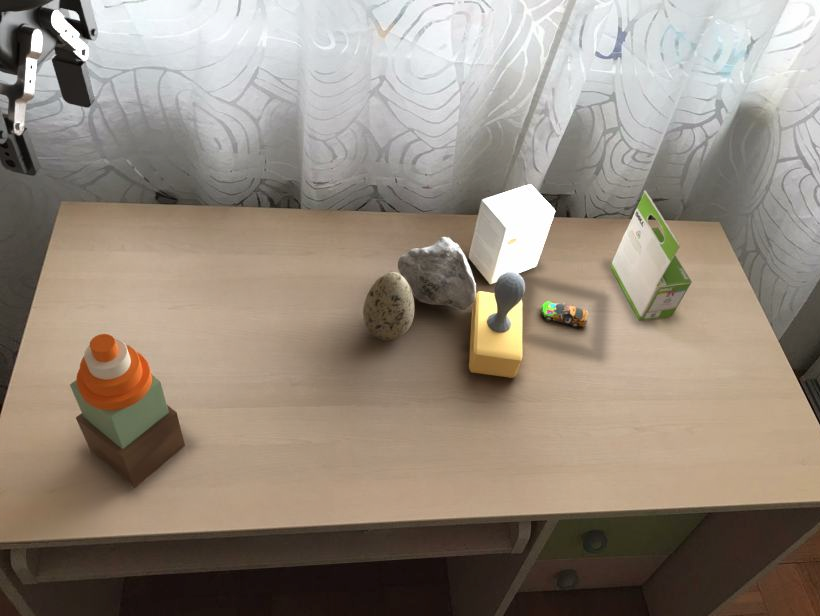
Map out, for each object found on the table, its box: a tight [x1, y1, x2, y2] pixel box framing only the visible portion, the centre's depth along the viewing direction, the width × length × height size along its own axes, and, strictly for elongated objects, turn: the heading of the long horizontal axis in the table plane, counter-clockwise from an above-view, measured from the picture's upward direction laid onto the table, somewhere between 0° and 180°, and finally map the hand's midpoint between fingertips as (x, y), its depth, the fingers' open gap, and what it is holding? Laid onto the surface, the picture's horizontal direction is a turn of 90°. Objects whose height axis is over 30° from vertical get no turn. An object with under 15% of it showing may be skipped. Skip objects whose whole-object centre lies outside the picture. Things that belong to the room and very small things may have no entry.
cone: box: [76, 333, 153, 410], centre depth 65 cm, size 6×6×6 cm
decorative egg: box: [362, 271, 415, 341], centre depth 87 cm, size 6×6×10 cm
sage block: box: [69, 373, 169, 449], centre depth 69 cm, size 5×5×5 cm
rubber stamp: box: [468, 272, 526, 379], centre depth 88 cm, size 10×6×12 cm, turn 177°
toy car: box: [540, 301, 588, 329], centre depth 96 cm, size 3×6×2 cm, turn 80°
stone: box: [397, 236, 477, 311], centre depth 91 cm, size 9×7×10 cm
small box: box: [468, 183, 556, 285], centre depth 97 cm, size 8×6×10 cm
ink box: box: [609, 189, 693, 321], centre depth 96 cm, size 10×5×14 cm, turn 16°
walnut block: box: [75, 404, 186, 489], centre depth 74 cm, size 6×6×6 cm
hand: (53, 135), depth 56 cm, fingers open, 8 cm apart
